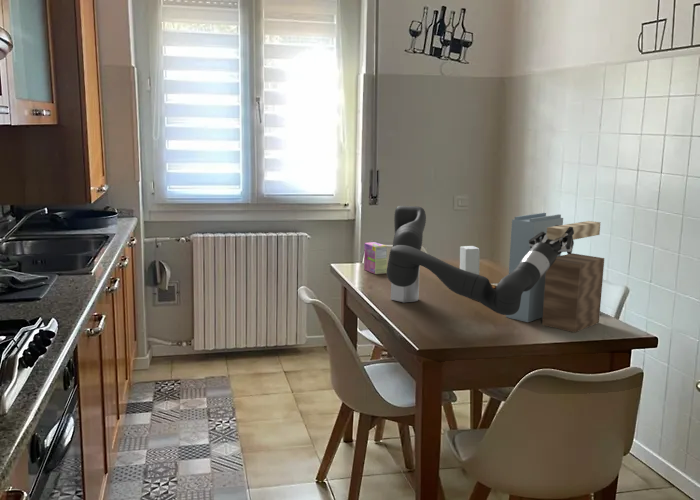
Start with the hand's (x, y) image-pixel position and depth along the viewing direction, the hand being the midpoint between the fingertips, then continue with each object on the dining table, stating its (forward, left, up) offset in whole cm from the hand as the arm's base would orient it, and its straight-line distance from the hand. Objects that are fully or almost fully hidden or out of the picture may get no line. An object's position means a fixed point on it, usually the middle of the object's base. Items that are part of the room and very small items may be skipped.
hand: (564, 228), depth 209 cm
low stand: (+9, 0, -31) cm, 32 cm away
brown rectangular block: (+6, 0, -3) cm, 7 cm away
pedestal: (+9, +14, -31) cm, 35 cm away
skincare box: (+31, +55, -31) cm, 70 cm away
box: (+20, +95, -31) cm, 102 cm away
